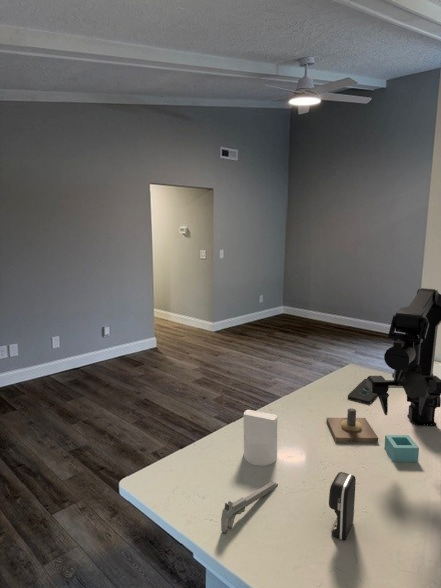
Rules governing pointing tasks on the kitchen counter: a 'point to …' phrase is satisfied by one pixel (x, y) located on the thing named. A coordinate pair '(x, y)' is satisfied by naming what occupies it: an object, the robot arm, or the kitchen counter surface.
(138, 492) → the kitchen counter surface
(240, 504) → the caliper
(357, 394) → the smart home device
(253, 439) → the white upright block
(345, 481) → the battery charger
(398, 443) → the collar
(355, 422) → the stand
